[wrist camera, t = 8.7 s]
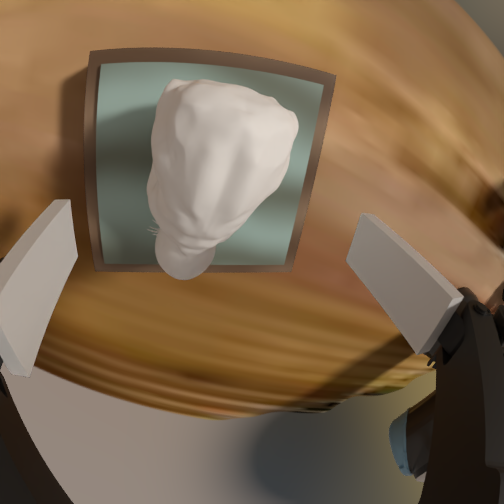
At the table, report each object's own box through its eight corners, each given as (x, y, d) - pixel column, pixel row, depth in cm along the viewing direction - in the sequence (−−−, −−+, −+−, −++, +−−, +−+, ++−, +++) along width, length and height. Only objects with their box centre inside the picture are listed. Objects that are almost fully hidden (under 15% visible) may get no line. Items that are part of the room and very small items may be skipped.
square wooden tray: (277, 247, 28) (292, 274, 24) (104, 244, 23) (94, 274, 20) (312, 75, 20) (339, 75, 16) (105, 56, 15) (88, 50, 12)
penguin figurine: (340, 124, 9) (237, 340, 16) (276, 93, 16) (220, 248, 22) (158, 69, 7) (121, 329, 13) (175, 65, 14) (138, 234, 20)
